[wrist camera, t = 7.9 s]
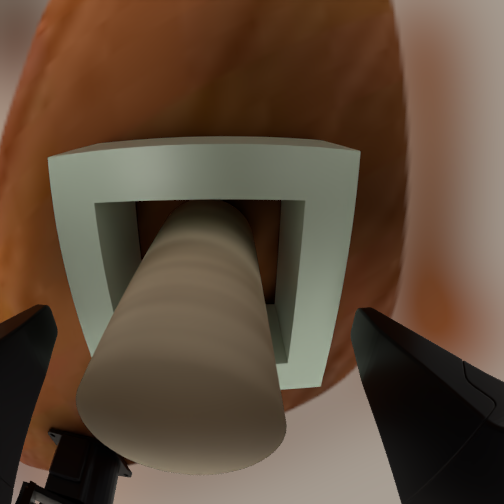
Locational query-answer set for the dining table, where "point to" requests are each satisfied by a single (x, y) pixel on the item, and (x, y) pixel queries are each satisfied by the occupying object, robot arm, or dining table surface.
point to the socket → (213, 187)
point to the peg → (189, 353)
